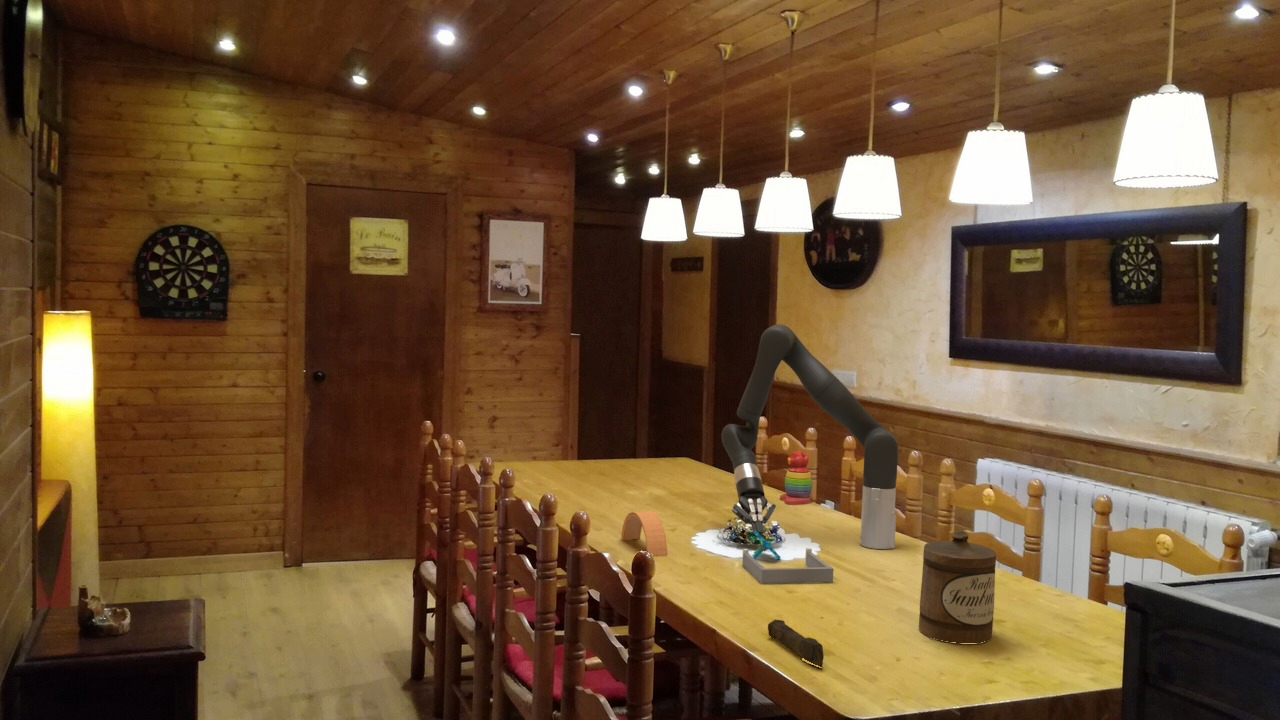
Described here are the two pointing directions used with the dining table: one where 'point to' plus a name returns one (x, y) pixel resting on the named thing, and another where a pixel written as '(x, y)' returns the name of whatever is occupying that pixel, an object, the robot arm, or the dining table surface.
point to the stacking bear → (797, 480)
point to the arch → (646, 531)
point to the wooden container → (957, 590)
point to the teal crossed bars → (763, 547)
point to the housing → (789, 570)
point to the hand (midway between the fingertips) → (759, 535)
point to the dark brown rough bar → (797, 642)
